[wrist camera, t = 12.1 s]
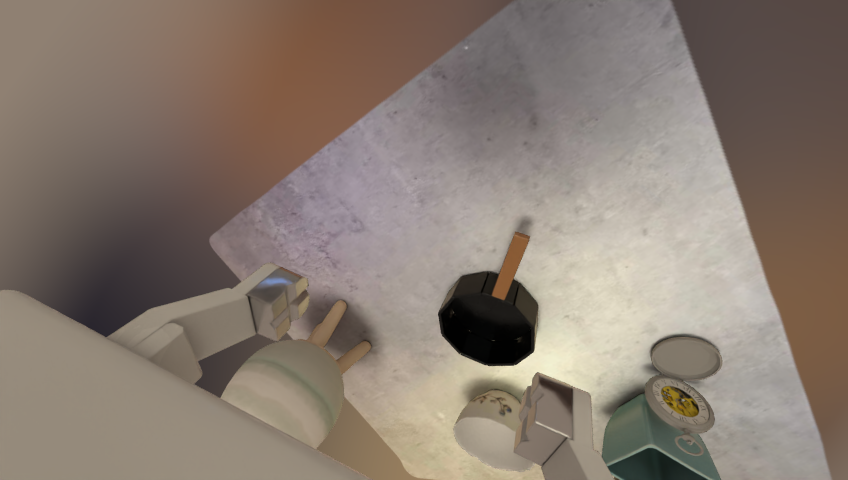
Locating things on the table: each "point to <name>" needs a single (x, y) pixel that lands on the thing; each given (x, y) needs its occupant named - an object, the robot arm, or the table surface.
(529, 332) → the saucepan
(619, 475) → the flower pot
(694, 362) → the pocket watch
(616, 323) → the table surface
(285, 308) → the robot arm
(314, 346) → the planter
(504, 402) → the white floral bowl
